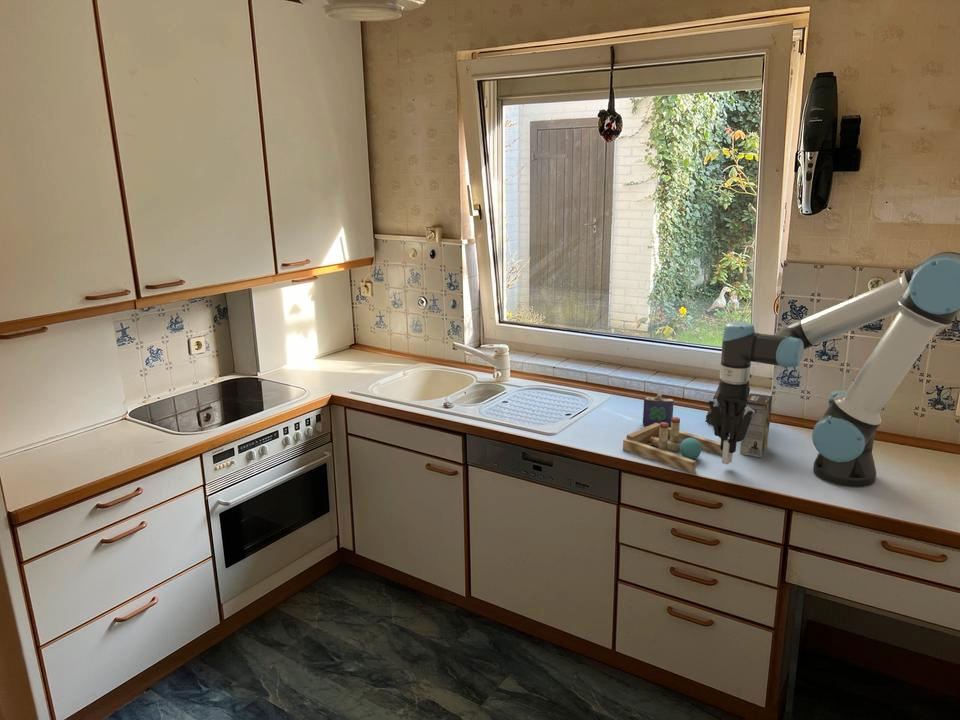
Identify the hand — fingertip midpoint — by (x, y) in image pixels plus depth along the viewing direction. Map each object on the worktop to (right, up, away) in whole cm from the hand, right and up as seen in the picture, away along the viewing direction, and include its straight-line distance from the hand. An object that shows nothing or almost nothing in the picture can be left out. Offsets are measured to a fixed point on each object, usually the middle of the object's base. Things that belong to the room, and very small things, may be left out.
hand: (726, 462), depth 200 cm
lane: (-11, +1, +12) cm, 16 cm away
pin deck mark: (-11, +1, +12) cm, 17 cm away
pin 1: (-15, +1, +12) cm, 19 cm away
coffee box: (+12, +1, +13) cm, 18 cm away
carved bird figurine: (+11, +7, +33) cm, 35 cm away
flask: (-11, +7, +33) cm, 35 cm away
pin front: (-10, +2, +11) cm, 15 cm away
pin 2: (-10, +2, +16) cm, 19 cm away
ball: (-8, +3, +7) cm, 11 cm away
